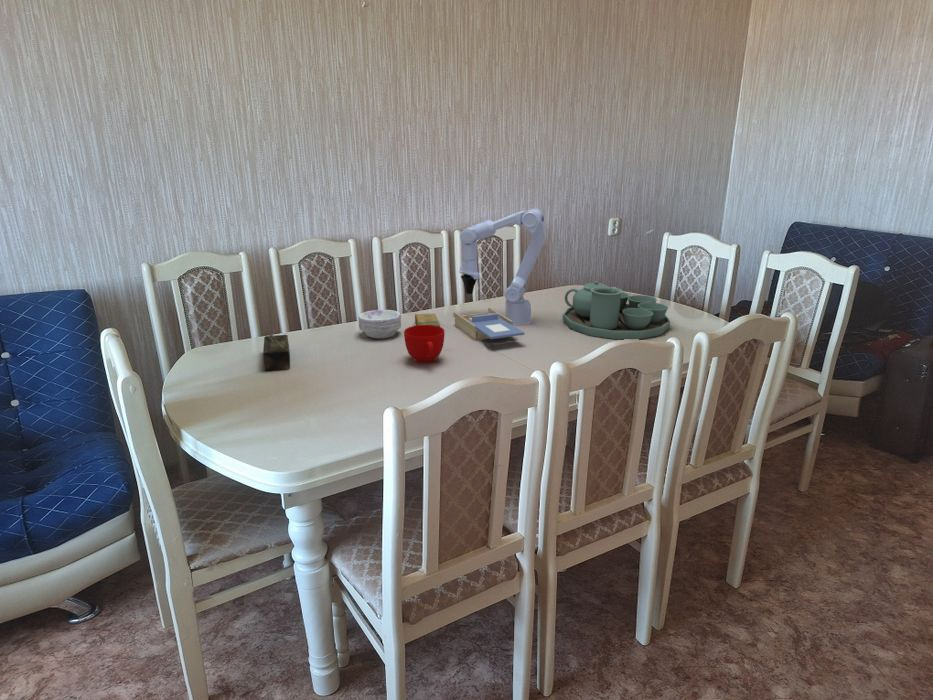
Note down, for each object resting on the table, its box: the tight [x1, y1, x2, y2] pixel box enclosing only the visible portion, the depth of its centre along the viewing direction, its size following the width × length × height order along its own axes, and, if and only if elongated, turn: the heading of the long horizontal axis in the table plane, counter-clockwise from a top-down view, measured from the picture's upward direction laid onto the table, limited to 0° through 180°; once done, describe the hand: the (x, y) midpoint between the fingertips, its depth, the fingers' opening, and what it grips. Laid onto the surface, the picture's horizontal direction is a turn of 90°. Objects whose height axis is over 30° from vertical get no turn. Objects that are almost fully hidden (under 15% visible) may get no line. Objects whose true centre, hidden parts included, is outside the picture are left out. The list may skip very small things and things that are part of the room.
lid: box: [469, 313, 525, 340], centre depth 212 cm, size 13×20×3 cm, turn 23°
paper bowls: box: [358, 309, 402, 340], centre depth 218 cm, size 15×15×8 cm
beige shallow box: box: [452, 307, 514, 341], centre depth 222 cm, size 15×20×6 cm
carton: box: [414, 313, 441, 327], centre depth 226 cm, size 8×16×4 cm, turn 9°
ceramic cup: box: [403, 325, 445, 364], centre depth 192 cm, size 13×17×10 cm
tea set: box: [562, 280, 671, 340], centre depth 230 cm, size 40×40×16 cm
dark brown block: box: [262, 334, 291, 372], centre depth 193 cm, size 8×19×7 cm, turn 17°
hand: (469, 293), depth 235 cm, fingers closed
